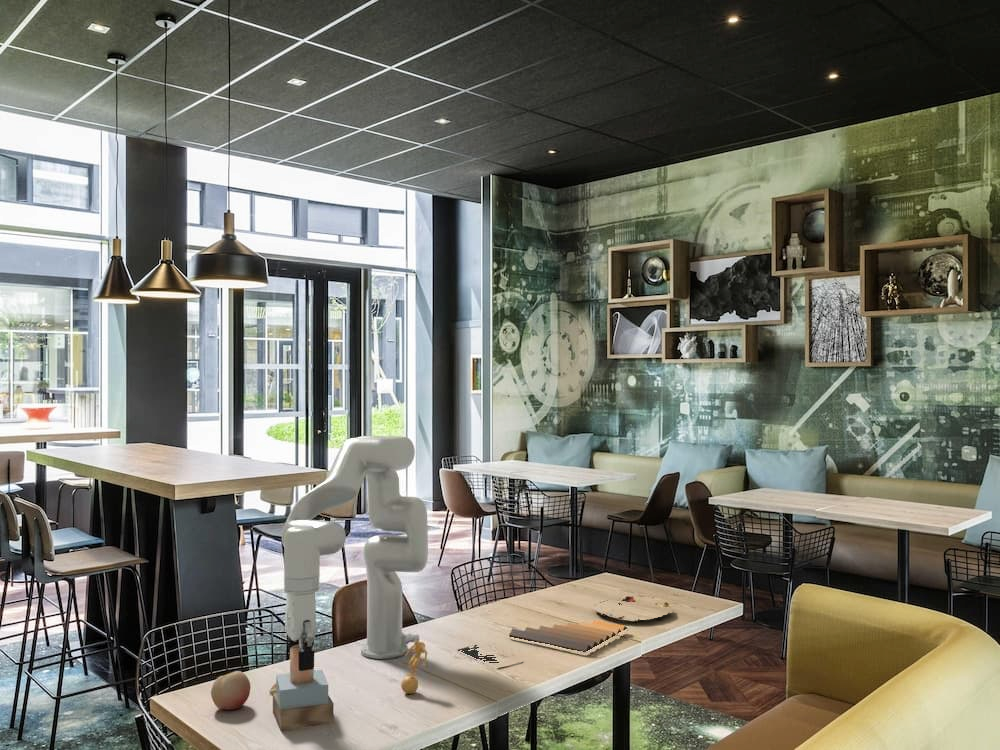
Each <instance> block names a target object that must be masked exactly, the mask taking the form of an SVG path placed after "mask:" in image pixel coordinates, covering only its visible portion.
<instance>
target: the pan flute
mask: <svg viewBox="0 0 1000 750" xmlns="http://www.w3.org/2000/svg"><path fill="white" fill-rule="evenodd" d="M625 629H628V627H626V625H622V624H617V623H613V622H608V621H607V622H606V621H601V620H595V619H594V620H593V622H592V623H591V622H586V621H580V623H579V624H576V623H570V622H568V623H567V624H566V626H565V625H560V624H556V623H554V624H553V626H552V627H548V626H546V625H540V626H539V628H533V627H529V626H528V627H526V628H525V630H521V629H517V628H512V629H511V630H510V632H509V633H508V634H509V638H510V637H514V638H519V639H524V640H528V641H534V642H539V643H545V644H550V645H554V646H558V647H562V648H566V649H571V650H577V651H583V652H586V651H588V650H590V649H592V648H593V647H595V646H597V645H599V644H601V643H602V642H604V641H606V640H608V639H609V638H611V637H613V636H615V635H616V634H618V633H619V632H621V630H622V631H623V630H625Z"/></svg>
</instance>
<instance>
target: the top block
mask: <svg viewBox="0 0 1000 750" xmlns="http://www.w3.org/2000/svg"><path fill="white" fill-rule="evenodd" d="M275 681H276V682H275V684H276V693H277V698H278V703H279V708H280V710H282V709H290V708H297V707H305V706H313V705H320V704H328V695H329V683H328V680H327V678H326V676H325V673H324V670H323V669H315V670H314V680H313V681H312V682H310V683H307V684H292V683H291V682H290V672H287V673H280V674H276V680H275Z"/></svg>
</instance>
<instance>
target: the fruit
mask: <svg viewBox="0 0 1000 750" xmlns="http://www.w3.org/2000/svg"><path fill="white" fill-rule="evenodd" d="M250 694H251V682H250V680H249V677H248V676H247V675H246V674H245V673H244V672H242V671H241V670H236V671H232V672H229V673H226V674H225V675H220V676H218V677H216V679H215V680H214V682H213V683H212V687H211V691H210V695H211V700H212V702H213V704H214V706H216V708H218V709H219V710H228V711H235V710H237V709H239V708H241V707H242V706H244V704H246V703H247V701H248V699H249V697H250Z"/></svg>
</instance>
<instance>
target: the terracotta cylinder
mask: <svg viewBox="0 0 1000 750" xmlns="http://www.w3.org/2000/svg"><path fill="white" fill-rule="evenodd" d="M303 645H304V644H303ZM299 651H300V645H295V646H292V647H291V648H290V656H289V669H290V670H289V673H290V682H291V683H292V684H307V683H310V682H312V681H313V680H314V669H315V668H314V669H311V670H305V671H299Z"/></svg>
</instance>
